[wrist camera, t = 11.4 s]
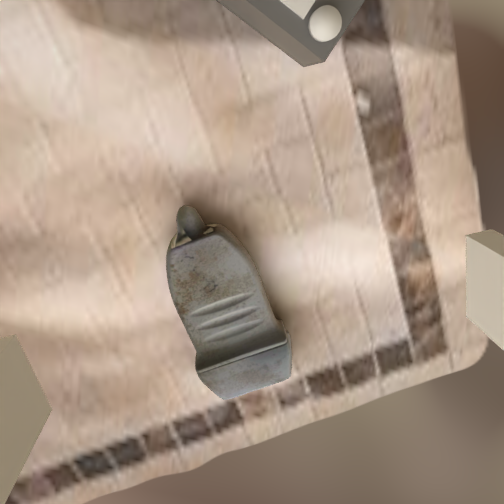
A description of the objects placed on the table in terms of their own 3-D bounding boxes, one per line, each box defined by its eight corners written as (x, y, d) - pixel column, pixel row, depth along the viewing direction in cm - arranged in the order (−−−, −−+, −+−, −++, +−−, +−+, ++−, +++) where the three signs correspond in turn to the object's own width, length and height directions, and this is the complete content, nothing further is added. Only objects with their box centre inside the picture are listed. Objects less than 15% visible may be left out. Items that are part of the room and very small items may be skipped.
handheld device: (233, 183, 38) (235, 195, 34) (297, 353, 45) (306, 381, 41) (135, 219, 38) (125, 236, 34) (214, 382, 46) (215, 413, 41)
